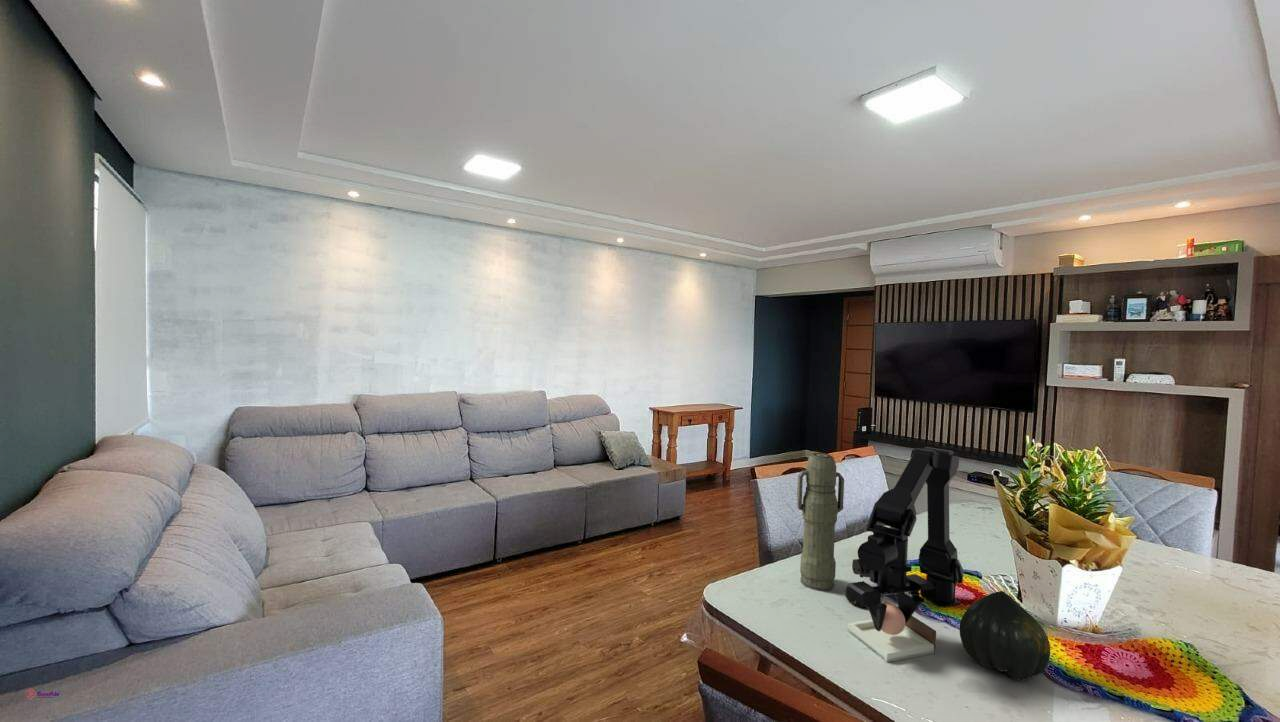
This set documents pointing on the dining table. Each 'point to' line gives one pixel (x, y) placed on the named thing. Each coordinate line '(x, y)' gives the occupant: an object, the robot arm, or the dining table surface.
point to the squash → (1004, 636)
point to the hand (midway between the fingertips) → (889, 628)
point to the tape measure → (851, 599)
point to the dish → (890, 641)
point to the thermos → (819, 520)
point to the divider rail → (919, 627)
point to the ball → (893, 620)
